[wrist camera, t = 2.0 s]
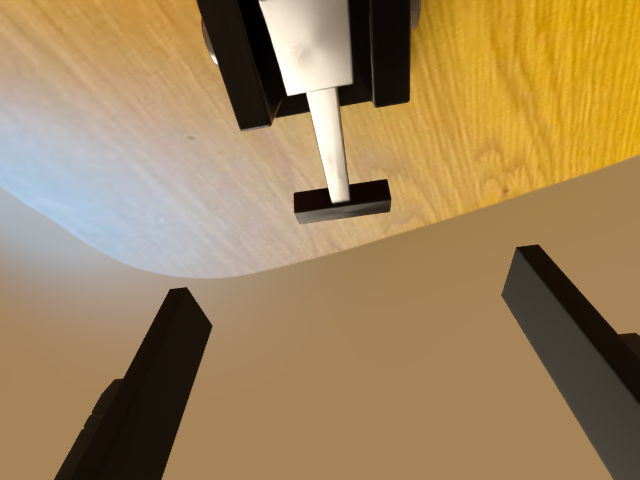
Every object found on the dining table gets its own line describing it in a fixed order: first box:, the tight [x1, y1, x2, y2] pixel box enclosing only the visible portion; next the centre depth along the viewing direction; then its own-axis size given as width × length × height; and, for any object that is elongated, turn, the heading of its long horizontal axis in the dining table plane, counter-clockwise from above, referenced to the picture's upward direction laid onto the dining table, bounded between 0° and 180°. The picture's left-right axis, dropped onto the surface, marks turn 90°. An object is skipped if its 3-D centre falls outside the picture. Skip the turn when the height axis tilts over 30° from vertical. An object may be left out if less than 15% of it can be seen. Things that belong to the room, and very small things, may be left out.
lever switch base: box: [196, 0, 421, 131], centre depth 13 cm, size 11×9×14 cm
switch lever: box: [257, 0, 391, 224], centre depth 13 cm, size 12×6×2 cm, turn 9°
